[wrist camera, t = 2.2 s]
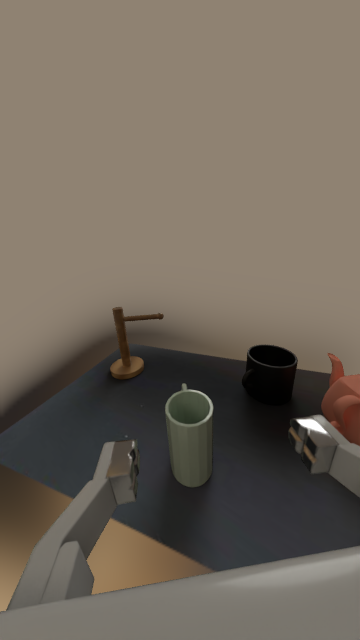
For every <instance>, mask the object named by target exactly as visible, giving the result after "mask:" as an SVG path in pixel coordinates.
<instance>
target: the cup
mask: <svg viewBox="0 0 360 640" xmlns="http://www.w3.org/2000/svg"><path fill="white" fill-rule="evenodd" d="M181 387H182V391H180V392H177V393H175V394H174V395H172V396H171V397H170V398H169V399H168V401H167V403H166V406H165V410H166V422H167V431H168V441H169V450H170V460H171V468H172V472H173V475H174V476H175V478H176V479H177V481H178V482H180V483H181V484H182V485H184V486H187V487H198V486H201V485H203V484H204V483H205V482H206V481H207V480H208V479H209V477H210V475H211V473H212V468H213V405H212V402H211V400H210V399H209V398H208V397H207V395H205V394H203V393H201V392H199V391H195V390H187V385H186V384H182V386H181Z"/></svg>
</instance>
